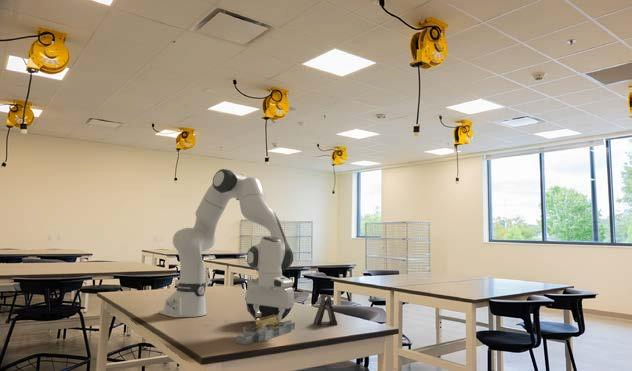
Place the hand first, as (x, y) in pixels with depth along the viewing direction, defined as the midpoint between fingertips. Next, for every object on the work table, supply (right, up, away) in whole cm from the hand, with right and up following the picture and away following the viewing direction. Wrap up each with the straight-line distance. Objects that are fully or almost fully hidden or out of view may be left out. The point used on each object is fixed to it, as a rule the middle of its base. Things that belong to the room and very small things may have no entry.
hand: (268, 318), depth 157 cm
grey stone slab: (0, -6, -1) cm, 6 cm away
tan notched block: (0, -6, -1) cm, 6 cm away
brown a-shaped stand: (+22, -10, +22) cm, 32 cm away
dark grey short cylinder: (-2, -9, +21) cm, 23 cm away
